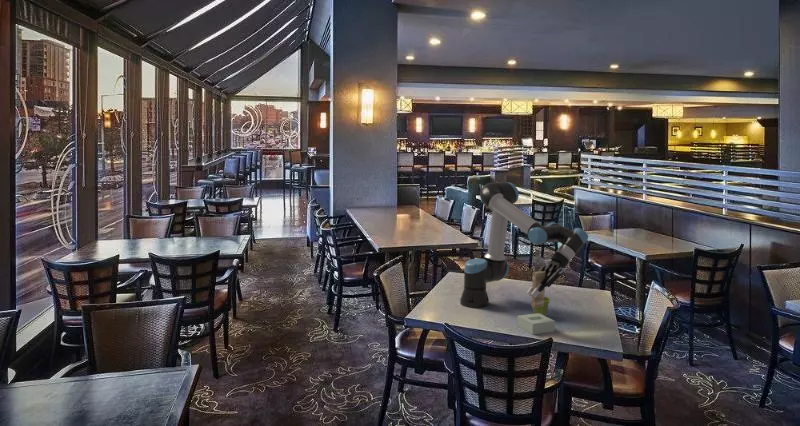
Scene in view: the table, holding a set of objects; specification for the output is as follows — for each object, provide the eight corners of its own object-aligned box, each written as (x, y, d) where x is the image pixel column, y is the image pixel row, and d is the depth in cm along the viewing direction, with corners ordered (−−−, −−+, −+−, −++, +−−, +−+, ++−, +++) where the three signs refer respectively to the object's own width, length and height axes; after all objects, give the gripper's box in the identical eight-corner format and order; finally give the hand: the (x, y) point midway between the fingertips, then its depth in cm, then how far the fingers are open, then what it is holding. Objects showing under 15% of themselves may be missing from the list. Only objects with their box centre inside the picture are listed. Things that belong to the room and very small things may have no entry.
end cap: (516, 326, 249) (517, 315, 248) (538, 323, 253) (538, 313, 253) (532, 334, 238) (532, 323, 237) (554, 331, 242) (555, 320, 242)
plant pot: (546, 319, 259) (547, 302, 258) (527, 316, 264) (528, 299, 263) (551, 314, 267) (552, 297, 266) (533, 311, 272) (534, 294, 271)
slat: (531, 306, 244) (532, 271, 242) (540, 305, 246) (542, 270, 244) (534, 307, 242) (536, 272, 240) (543, 306, 244) (545, 272, 242)
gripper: (578, 265, 240) (546, 304, 236) (556, 258, 254) (525, 295, 250) (569, 254, 237) (536, 294, 233) (547, 248, 252) (516, 285, 248)
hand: (530, 295), depth 242 cm, fingers closed on slat, 2 cm apart
